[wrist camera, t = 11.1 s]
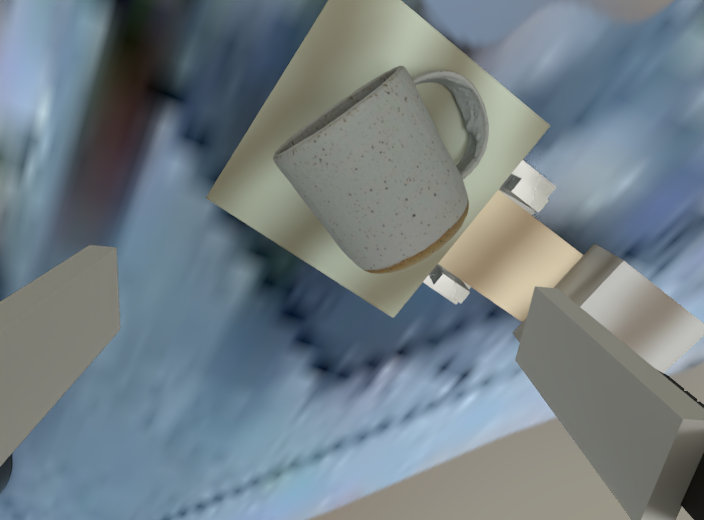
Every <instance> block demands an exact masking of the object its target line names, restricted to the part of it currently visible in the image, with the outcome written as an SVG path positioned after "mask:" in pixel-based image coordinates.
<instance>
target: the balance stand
mask: <svg viewBox="0 0 704 520" xmlns="http://www.w3.org/2000/svg"><path fill="white" fill-rule="evenodd" d="M555 189H556V186H554V185H553V184H552V183H551V182H549V181H548V180H547V179H546V178H544V177H543V176H542V175H541V174H539V173H538V172H537V171H536V170H534V169H533V168H532V167H531V166H529V165H528V164H527V163H526V162H524V161H523V160H522V161H521V162H520V164H519V165H518V166H517V167H516V169H515V170H514V171H513V172H512V173H511V175H510V176H509V177H508V178H507V180H506V181H505V182H504V183H503V185H502V186H501V187H500V188H499V189H498V190H499V191H501V192H502V193H503V194H505V195H506V196H507V197H508V198H510V199H511V200H512V201H514V202H515V203H516V204H518V205H519V206H520V207H521V208H523V209H524V210H525V211H527V212H528V213H529V214H531V215H533V214H534V213H535V212H538V213H539V212H540V211H541V210H542V208H543V207H544V206H545V205H546V204H547V203H548V201H549V200H548V199H547V198H548V197H549V196H550V194H551V193H552V192H553V191H554V190H555ZM423 283H425V284H426V285H428V286H429V287H431V288H432V289H434V290H435V291H437V292H438V293H440V294H441V295H443V296H444V297H445V298H447V299H448V300H450V301H451V302H453V303H454V304H457V303H458V302H459V303H462V302H463V301H464V299H465V298H466V297H467V296H468V295H469V294H470V291H469V289H470V288H471V286H469V285H468V284H466V283H465V282H463V281H462V280H461V279H459V278H458V277H456V276H455V275H453V274H452V273H450V272H449V271H448V270H446V269H445V268H443V267H442V266H440V265H439V264H437V265H436V267H435V268H434V269H433V270H432V271H431V273H430V274H429V275H428V276H427V278H426V279H425V280H424V281H423Z"/></svg>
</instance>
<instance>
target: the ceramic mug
mask: <svg viewBox="0 0 704 520" xmlns="http://www.w3.org/2000/svg"><path fill="white" fill-rule="evenodd" d="M427 82H435V83H440V84H443V85H444V86H446V87H447V88H448V89H449V91H450V92H452V93H453V95H454V97H455V99H456V101H457V103H458V106H459V108H460V111H461V113H462V115H463V118H464V121H465V128H466V130H467V131H468V132H469V138H468V144H467V147H466V150H465V153H464V155H463V157H462V158H461V159H460V161H459V163H458V164H457V165H455V163H454V161H453V159H452V157H451V156H450V154H449V153H448V151H447V149H446V147H445V145H444V143H443V141H442V139H441V137H440V135H439V133H438V131H437V129H436V127H435V124H434V122H433V120H432V118H431V116H430V114H429V112H428V110H427V108H426V106H425V104H424V103H423V101H422V99H421V97H420V94H419V92H418V90H417V88H416V86H415V85H417V84H421V83H427ZM488 135H489V123H488V117H487V113H486V108H485V105H484V103H483V100H482V98H481V96H480V94H479V92H478V91H477V89H476V88H475V86H474V85H473V84H472V83H471V82H470V81H469V80H468V79H467V78H466V77H464V76H462V75H460V74H458V73H454V72H451V71H444V70H434V71H429V72H425V73H422V74H419V75H416V76H414V77H412V78H411V76H410V74H409V73H408V71H407V70H406V68H405V67H404V66H398V67H395V68H393V69H391V70H389V71H387V72H385V73H384V74H382V75H380V76H379V77H377V78H375V79H373V80H372V81H370V82H369V83H367V84H365V85H364V86H362V87H360V88H359V89H357V90H355V91H354V92H353V93H352V94H350V95H349V96H347V97H346V98H344V99H342V100H341V101H339V102H338V103H336V104H335V105H333V106H332V107H331V108H329V109H328V110H326V111H325V112H324V113H322V114H320V115H319V116H318V117H317V118H316V119H314V120H312V121H311V122H310V123H309V124H307V125H306V126H305V127H303V128H302V129H301V130H299V131H298V132H297V133H295V134H294V135H293V136H292V137H290V138H289V139H288V140H287V141H286V142H285V143H284V144H283V145H281V146H280V148H279V149H277V151H276V152H275V154H274V156H273V160H274V162H275V164H276V166H277V167H278V168H279V169H280V171H281V172H282V173H283V174H284V176H285V177H286V178H287V179H288V181H289V182H290V183H291V184H292V186H293V187H294V189H295V190H296V191H297V192H298V194H299V195H300V196H301V198H302V199H303V201H304V202H305V203H306V204H307V206H308V207H309V208H310V210H311V211H312V212H313V213H314V215H315V216H316V217H317V218H318V220H319V221H320V222H321V223H322V225H323V226H324V227H325V228H326V230H327V231H328V232H329V234H330V235H331V237H332V238H333V239H334V241H335V242H336V244H337V245H338V246H339V248H340V249H341V250H342V251H343V252H344V253H345V254H346V255H347V256H348V257H349V258H350V259H351V260H352V261H353V262H354V263H355V264H356V265H357V266H358V267H360V268H361V269H363V270H364V271H366V272H369V273H375V274H385V273H392V272H396V271H400V270H403V269H406V268H408V267H410V266H413V265H415V264H417V263H419V262H421V261H422V260H424V259H426V258H427V257H429V256H430V255H432V254H433V253H435V252H436V251H438V250H439V249H440V248H441V247H442V246H444V245H445V244H446V243H447V242H448V241H449V240H450V239H451V238H452V237H453V236H454V235H455V234H456V233H457V232H458V230H459V229H460V228H461V226H462V224H463V222H464V220H465V218H466V216H467V214H468V209H469V200H468V195H467V192H466V188H465V185H464V182H463V179H465V178H466V177H467V176H468V175H469V174H470V173H471V172H472V171H473V170H474V168H475V167H476V166H477V165H478V164H479V162H480V160H481V158H482V157H483V155H484V153H485V150H486V147H487V142H488Z"/></svg>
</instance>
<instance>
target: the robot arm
mask: <svg viewBox="0 0 704 520" xmlns="http://www.w3.org/2000/svg"><path fill="white" fill-rule="evenodd" d="M119 330H120V313H119V291H118V269H117V248H116V247H105V246H95V245H89V246H88V247H86V248H84V249H83V250H81V251H80V252H78V253H76V254H75V255H73V256H72V257H70V258H69V259H67V260H65V261H64V262H62V263H61V264H59V265H58V266H56V267H54V268H53V269H51V270H50V271H48V272H46V273H45V274H43V275H42V276H40V277H39V278H37V279H35V280H34V281H32V282H31V283H29V284H27V285H26V286H24V287H23V288H21V289H20V290H18V291H16V292H15V293H13V294H12V295H10V296H8V297H7V298H5V299H4V300H2V301H1V302H0V493H1V492H2V490H3V489H4V488H5V486H6V484H7V482H8V480H9V477H10V473H11V454H12V453H13V452H14V450H15V449H16V448H17V447H18V446H19V445H20V444H21V442H22V441H23V440H24V439H25V438H26V437H27V436H28V434H29V433H30V432H31V431H32V430H33V429H34V428H35V426H36V425H37V424H38V423H39V422H40V421H41V420H42V418H43V417H44V416H45V415H46V414H47V413H48V412H49V410H50V409H51V408H52V407H53V406H54V405H55V404H56V402H57V401H58V400H59V399H60V398H61V397H62V396H63V394H64V393H65V392H66V391H67V390H68V389H69V388H70V386H71V385H72V384H73V383H74V382H75V381H76V380H77V378H78V377H79V376H80V375H81V374H82V373H83V372H84V370H85V369H86V368H87V367H88V366H89V365H90V364H91V362H92V361H93V360H94V359H95V358H96V357H97V356H98V354H99V353H100V352H101V351H102V350H103V349H104V348H105V346H106V345H107V344H108V343H109V342H110V341H111V340H112V338H113V337H114V336H115V335H116V334H117V333H118V332H119ZM516 362H517V363H518V364H519V366H520V367H521V368H522V370H523V371H524V373H525V374H526V375H527V377H528V378H529V379H530V381H531V382H532V384H533V385H534V386H535V388H536V389H537V390H538V392H539V393H540V395H541V396H542V397H543V399H544V400H545V401H546V403H547V404H548V406H549V407H550V408H551V410H552V411H553V412H554V414H555V415H556V417H557V418H558V419H559V421H560V422H561V423H562V425H563V426H564V428H565V429H566V430H567V432H568V433H569V434H570V436H571V437H572V438H573V440H574V441H575V443H576V444H577V445H578V447H579V448H580V449H581V451H582V452H583V454H584V455H585V456H586V458H587V459H588V460H589V462H590V463H591V465H592V466H593V467H594V469H595V470H596V471H597V473H598V474H599V475H600V477H601V478H602V480H603V481H604V482H605V484H606V485H607V486H608V488H609V489H610V491H611V492H612V493H613V495H614V496H615V498H616V499H617V500H618V502H619V503H620V504H621V506H622V507H623V508H624V510H625V511H626V513H627V514H628V515H629V517H630V518H631V520H676V517H677V516H678V513H679V511H680V509H681V507H682V506H683V508H684V509H685V510H686V511H687V512H688V513H689V514H690V516H691V517H692V518H693V519H694V520H704V404H702V403H701V402H697V399H696V398H695V397H694V396H692V395H691V394H690V393H689V392H688V391H684V388H682V387H681V386H680V385H679V384H678V383H676V382H675V381H674V380H673V379H672V378H670V377H669V376H667V375H666V374H664V373H662V372H660V371H658V370H657V369H655V368H654V367H653V366H651V365H650V364H649V363H648V362H647V361H645V360H644V359H643V358H642V357H640V356H639V355H638V354H637V353H636V352H634V351H633V350H632V349H631V348H629V347H628V346H627V345H626V344H625V343H623V342H622V341H621V340H620V339H618V338H617V337H616V336H615V335H614V334H612V333H611V332H610V331H609V330H608V329H606V328H605V327H604V326H603V325H601V324H600V323H599V322H598V321H597V320H595V319H594V318H593V317H592V316H590V315H589V314H588V313H587V312H586V311H584V310H583V309H582V308H581V307H579V306H578V305H577V304H576V303H575V302H573V301H572V300H571V299H570V298H568V297H567V296H566V295H565V294H564V293H562V292H561V291H560V290H559V289H557V288H547V287H536V286H535V288H534V292H533V296H532V300H531V304H530V307H529V311H528V315H527V319H526V322H525V326H524V330H523V334H522V337H521V341H520V345H519V349H518V352H517V356H516Z"/></svg>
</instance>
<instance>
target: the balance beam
mask: <svg viewBox="0 0 704 520" xmlns="http://www.w3.org/2000/svg"><path fill="white" fill-rule="evenodd" d="M398 66H404V67H405V68H406V70H407V71H408V73H409V74H410V76H411V78H412V77H414V76H416V75H419V74H422V73H425V72H429V71H434V70H444V71H451V72H454V73H458V74H460V75H462V76H464V77H466V78H467V79H468V80H469V81H470V82H471V83H472V84H473V85H474V86H475V88H476V89H477V91H478V92H479V94H480V96H481V98H482V100H483V103H484V105H485V108H486V113H487V117H488V123H489V135H488V142H487V147H486V150H485V153H484V155H483V157H482V158H481V160H480V162H479V164H478V165H477V166H476V167H475V168H474V170H473V171H472V172H471V173H470V174H469V175H468V176H467V177H466V178H465V179H463V182H464V185H465V188H466V192H467V195H468V200H469V209H468V214H467V216H466V218H465V220H464V222H463V224H462V226H461V228H460V229H459V230H458V232H457V233H456V234H455V235H454V236H453V237H452V238H451V239H450V240H449V241H448V242H447V243H446V244H445V245H444V246H442V247H441V248H440V249H439V250H438V251H436V252H435V253H433V254H432V255H430V256H429V257H427V258H426V259H424V260H422V261H421V262H419V263H417V264H415V265H413V266H410V267H408V268H406V269H403V270H400V271H396V272H392V273H385V274H375V273H369V272H366V271H364V270H363V269H361V268H360V267H358V266H357V265H356V264H355V263H354V262H353V261H352V260H351V259H350V258H349V257H348V256H347V255H346V254H345V253H344V252H343V251H342V250H341V249H340V248H339V246H338V245H337V244H336V242H335V241H334V239H333V238H332V237H331V235H330V234H329V232H328V231H327V230H326V228H325V227H324V226H323V225H322V223H321V222H320V221H319V220H318V218H317V217H316V216H315V215H314V213H313V212H312V211H311V210H310V208H309V207H308V206H307V204H306V203H305V202H304V201H303V199H302V198H301V196H300V195H299V194H298V192H297V191H296V190H295V189H294V187H293V186H292V184H291V183H290V182H289V181H288V179H287V178H286V177H285V176H284V174H283V173H282V172H281V171H280V169H279V168H278V167H277V166H276V164H275V162H274V160H273V156H274V154H275V152H276V151H277V149H279V148H280V146H281V145H283V144H284V143H285V142H286V141H287V140H288V139H289V138H290V137H292V136H293V135H294V134H295V133H297V132H298V131H299V130H301V129H302V128H303V127H305V126H306V125H307V124H309V123H310V122H311V121H312V120H314V119H316V118H317V117H318V116H319V115H320V114H322V113H324V112H325V111H326V110H328V109H329V108H331V107H332V106H333V105H335V104H336V103H338V102H339V101H341V100H342V99H344V98H346V97H347V96H349V95H350V94H352V93H353V92H354V91H355V90H357V89H359V88H360V87H362V86H364V85H365V84H367V83H369V82H370V81H372V80H373V79H375V78H377V77H379V76H380V75H382V74H384V73H385V72H387V71H389V70H391V69H393V68H395V67H398ZM415 86H416V88H417V90H418V92H419V94H420V97H421V99H422V101H423V103H424V104H425V106H426V108H427V110H428V112H429V114H430V116H431V118H432V120H433V122H434V124H435V127H436V129H437V131H438V133H439V135H440V137H441V139H442V141H443V143H444V145H445V147H446V149H447V151H448V153H449V154H450V156H451V157H452V159H453V161H454V163H455V165H457V164H458V163H459V161H460V159H461V158H462V157H463V155H464V153H465V150H466V147H467V144H468V138H469V132H468V131H467V130H466V128H465V121H464V118H463V115H462V113H461V111H460V108H459V106H458V103H457V101H456V99H455V97H454V95H453V93H452V92H450V91H449V89H448V88H447V87H446V86H444V85H443V84H440V83H435V82H427V83H421V84H417V85H415ZM549 127H550V125H549V124H548V123H546V122H545V121H544V120H543V119H542V118H540V117H539V116H538V115H537V114H536V113H535V112H533V111H532V110H531V109H530V108H529V107H527V106H526V105H525V104H524V103H523V102H521V101H520V100H519V99H518V98H517V97H515V96H514V95H513V94H512V93H511V92H510V91H508V90H507V89H506V88H505V87H504V86H502V85H501V84H500V83H499V82H498V81H496V80H495V79H494V78H493V77H492V76H490V75H489V74H488V73H487V72H486V71H485V70H483V69H482V68H481V67H480V66H479V65H477V64H476V63H475V62H474V61H473V60H471V59H470V58H469V57H468V56H467V55H465V54H464V53H463V52H462V51H461V50H460V49H458V48H457V47H456V46H455V45H454V44H452V43H451V42H450V41H449V40H448V39H446V38H445V37H444V36H443V35H442V34H440V33H439V32H438V31H437V30H436V29H435V28H433V27H432V26H431V25H430V24H429V23H427V22H426V21H425V20H424V19H423V18H421V17H420V16H419V15H418V14H417V13H415V12H414V11H413V10H412V9H411V8H410V7H408V6H407V5H406V4H405V3H404V2H402V1H401V0H328V2H327V3H326V5H325V7H324V8H323V10H322V12H321V13H320V15H319V16H318V18H317V20H316V21H315V23H314V24H313V26H312V28H311V29H310V31H309V32H308V34H307V36H306V37H305V39H304V40H303V42H302V44H301V45H300V47H299V49H298V50H297V52H296V53H295V55H294V57H293V58H292V60H291V61H290V63H289V65H288V66H287V68H286V69H285V71H284V73H283V74H282V76H281V78H280V79H279V81H278V82H277V84H276V86H275V87H274V89H273V90H272V92H271V94H270V95H269V97H268V98H267V100H266V102H265V103H264V105H263V106H262V108H261V110H260V111H259V113H258V115H257V116H256V118H255V119H254V121H253V123H252V124H251V126H250V127H249V129H248V131H247V132H246V134H245V135H244V137H243V139H242V140H241V142H240V144H239V145H238V147H237V148H236V150H235V152H234V153H233V155H232V156H231V158H230V160H229V161H228V163H227V164H226V166H225V168H224V169H223V171H222V173H221V174H220V176H219V177H218V179H217V181H216V182H215V184H214V185H213V187H212V189H211V190H210V192H209V193H208V195H207V197H206V198H207V199H208V200H210V201H211V202H213V203H214V204H216V205H218V206H219V207H221V208H222V209H224V210H225V211H227V212H228V213H230V214H232V215H233V216H235V217H236V218H238V219H239V220H241V221H242V222H244V223H246V224H247V225H249V226H250V227H252V228H253V229H255V230H257V231H258V232H260V233H261V234H263V235H264V236H266V237H267V238H269V239H271V240H272V241H274V242H275V243H277V244H278V245H280V246H281V247H283V248H285V249H286V250H288V251H289V252H291V253H292V254H294V255H296V256H297V257H299V258H300V259H302V260H303V261H305V262H306V263H308V264H310V265H311V266H313V267H314V268H316V269H317V270H319V271H320V272H322V273H324V274H325V275H327V276H328V277H330V278H331V279H333V280H335V281H336V282H338V283H339V284H341V285H342V286H344V287H345V288H347V289H349V290H350V291H352V292H353V293H355V294H356V295H358V296H359V297H361V298H363V299H364V300H366V301H367V302H369V303H370V304H372V305H373V306H375V307H377V308H378V309H380V310H381V311H383V312H384V313H386V314H388V315H389V316H391V317H392V318H394V317H395V316H396V314H397V313H398V312H399V311H400V309H401V308H402V307H403V306H404V305H405V303H406V302H407V301H408V300H409V298H410V297H411V296H412V295H413V294H414V292H415V291H416V290H417V289H418V287H419V286H420V285H421V284H422V283H423V281H424V280H425V279H426V278H427V276H428V275H429V274H430V273H431V271H432V270H433V269H434V268H435V267H436V265H437V264H439V265H440V266H442V267H443V268H445V269H446V270H448V271H449V272H450V273H452V274H453V275H455V276H456V277H458V278H459V279H461V280H462V281H463V282H465V283H466V284H468V285H469V286H471V287H472V288H474V289H475V290H476V291H478V292H479V293H481V294H482V295H484V296H485V297H487V298H488V299H489V300H491V301H492V302H494V303H495V304H497V305H498V306H500V307H501V308H502V309H504V310H505V311H507V312H508V313H510V314H511V315H512V316H514V317H515V318H517V319H518V320H520V321H521V322H522V323H521V324H520V325H519V326H518V327H517V329H516V330H515V331H514V332H513V334H514V335H515V337H516V338H517V339H518V341H519V342H520V341H521V337H522V334H523V330H524V326H525V322H526V319H527V315H528V311H529V307H530V304H531V300H532V296H533V292H534V288H535V286H536V287H547V288H557V289H559V290H560V291H561V292H562V293H564V294H565V295H566V296H567V297H568V298H570V299H571V300H572V301H573V302H575V303H576V304H577V305H578V306H579V307H581V308H582V309H583V310H584V311H586V312H587V313H588V314H589V315H590V316H592V317H593V318H594V319H595V320H597V321H598V322H599V323H600V324H601V325H603V326H604V327H605V328H606V329H608V330H609V331H610V332H611V333H612V334H614V335H615V336H616V337H617V338H618V339H620V340H621V341H622V342H623V343H625V344H626V345H627V346H628V347H629V348H631V349H632V350H633V351H634V352H636V353H637V354H638V355H639V356H640V357H642V358H643V359H644V360H645V361H647V362H648V363H649V364H650V365H651V366H653V367H654V368H655V369H657V370H658V371H660V372H662V373H664V372H665V371H667V370H668V369H669V368H670V367H671V366H672V365H673V364H674V363H675V362H676V361H677V360H678V359H679V358H680V357H681V356H682V355H684V354H685V353H686V352H687V351H688V350H689V349H690V348H691V347H692V346H693V345H694V344H695V343H696V342H697V341H698V340H699V339H701V338H702V337H703V336H704V323H702V322H701V321H700V320H698V319H697V318H696V317H695V316H693V315H692V314H691V313H690V312H688V311H687V310H686V309H685V308H683V307H682V306H681V305H679V304H678V303H677V302H676V301H674V300H673V299H672V298H671V297H669V296H668V295H667V294H665V293H664V292H663V291H662V290H660V289H659V288H658V287H657V286H655V285H654V284H653V283H652V282H650V281H649V280H648V279H646V278H645V277H644V276H643V275H641V274H640V273H639V272H638V271H636V270H635V269H634V268H632V267H631V266H630V265H629V264H627V263H626V262H625V261H624V260H622V259H620V258H618V257H617V256H615V255H613V254H612V253H610V252H608V251H606V250H605V249H603V248H601V247H600V246H598V245H596V244H593V245H592V247H591V248H590V249H589V250H588V251H587V252H586V253H585V254H584V255H583V254H581V253H580V252H579V251H577V250H576V249H575V248H573V247H572V246H571V245H570V244H568V243H567V242H566V241H564V240H563V239H562V238H560V237H559V236H558V235H557V234H555V233H554V232H553V231H551V230H550V229H549V228H547V227H546V226H545V225H544V224H542V223H541V222H540V221H538V220H537V219H536V218H534V217H533V216H532V215H531V214H529V213H528V212H527V211H525V210H524V209H523V208H521V207H520V206H519V205H518V204H516V203H515V202H514V201H512V200H511V199H510V198H508V197H507V196H506V195H505V194H503V193H502V192H501V191H499V190H498V189H499V188H500V187H501V186H502V185H503V183H504V182H505V181H506V180H507V178H508V177H509V176H510V175H511V173H512V172H513V171H514V170H515V169H516V167H517V166H518V165H519V164H520V162H521V161H522V160H523V159H524V158H525V156H526V155H527V154H528V153H529V151H530V150H531V149H532V148H533V147H534V145H535V144H536V143H537V142H538V140H539V139H540V138H541V137H542V136H543V134H544V133H545V132H546V131H547V129H548V128H549Z"/></svg>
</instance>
